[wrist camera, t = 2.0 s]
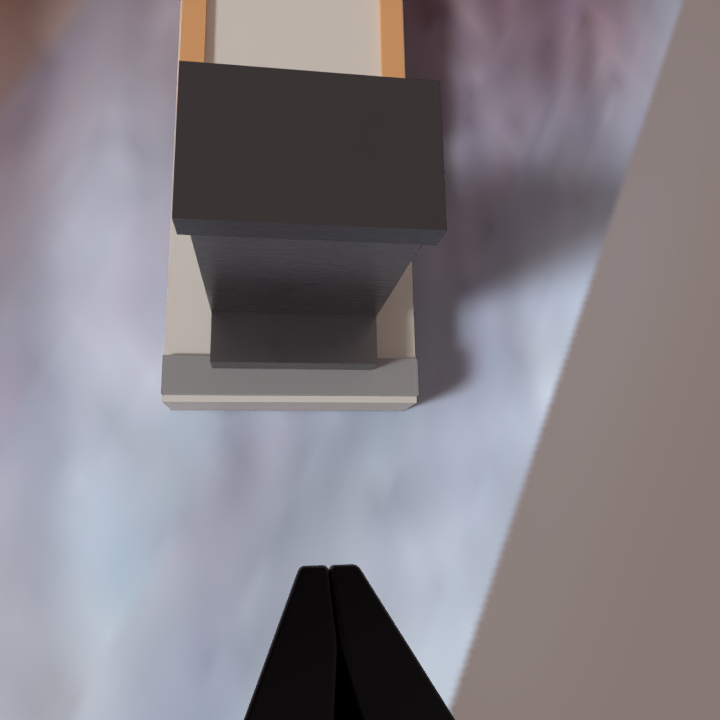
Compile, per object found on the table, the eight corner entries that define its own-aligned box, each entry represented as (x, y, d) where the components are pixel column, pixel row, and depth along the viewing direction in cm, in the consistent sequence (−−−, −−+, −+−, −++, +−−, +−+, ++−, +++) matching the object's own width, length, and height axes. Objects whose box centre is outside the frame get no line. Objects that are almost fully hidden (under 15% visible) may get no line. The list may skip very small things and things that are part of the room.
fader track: (403, 410, 23) (418, 401, 21) (171, 410, 22) (160, 400, 20) (390, -25, 27) (402, -72, 25) (190, -45, 26) (184, -97, 23)
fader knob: (378, 369, 21) (449, 291, 13) (205, 368, 20) (169, 283, 12) (374, 196, 22) (436, 27, 14) (211, 188, 21) (181, 4, 13)
